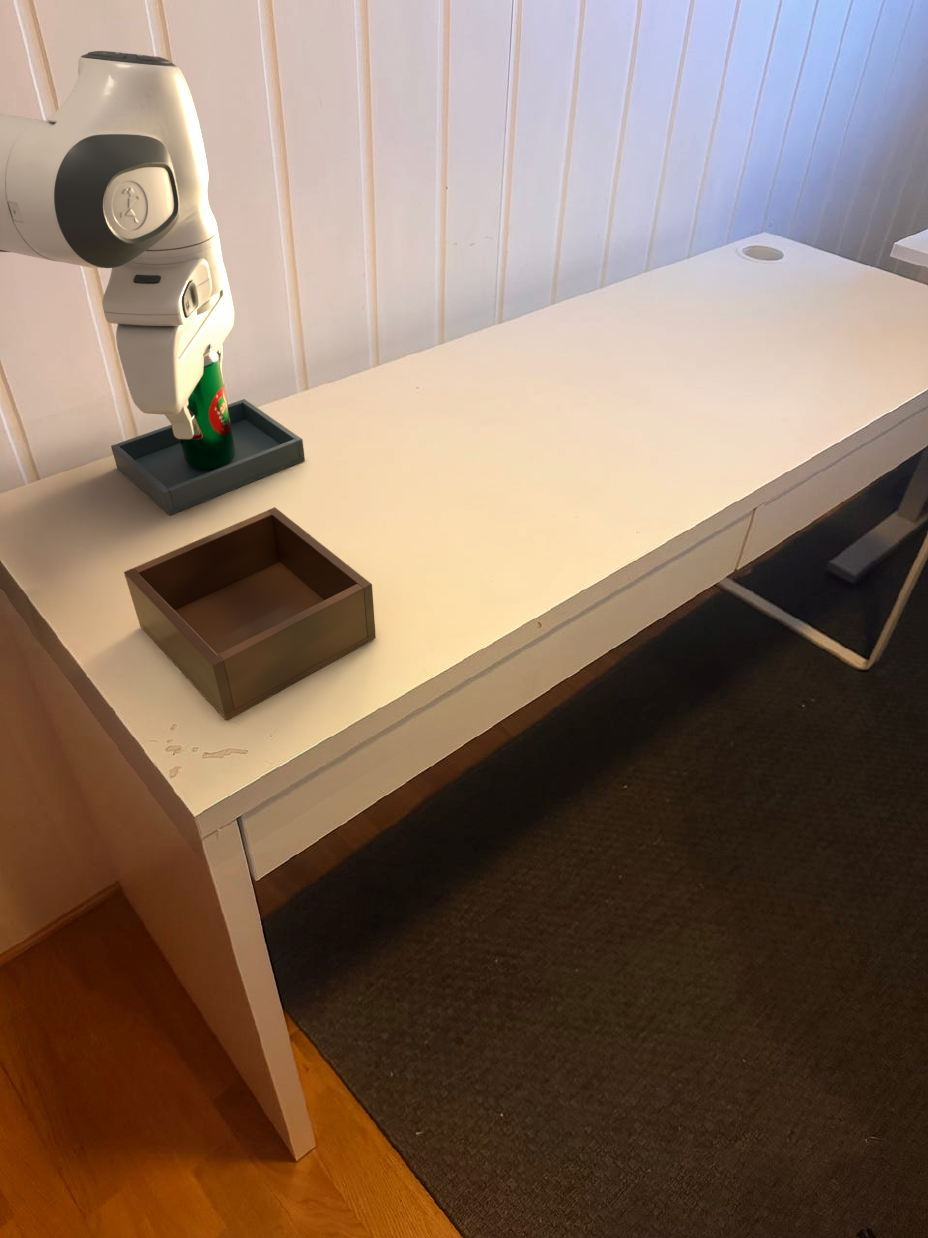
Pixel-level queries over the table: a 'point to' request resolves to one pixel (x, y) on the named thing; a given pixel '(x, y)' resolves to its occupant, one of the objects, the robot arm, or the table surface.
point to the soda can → (209, 420)
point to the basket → (252, 609)
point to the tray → (181, 486)
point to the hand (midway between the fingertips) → (200, 410)
